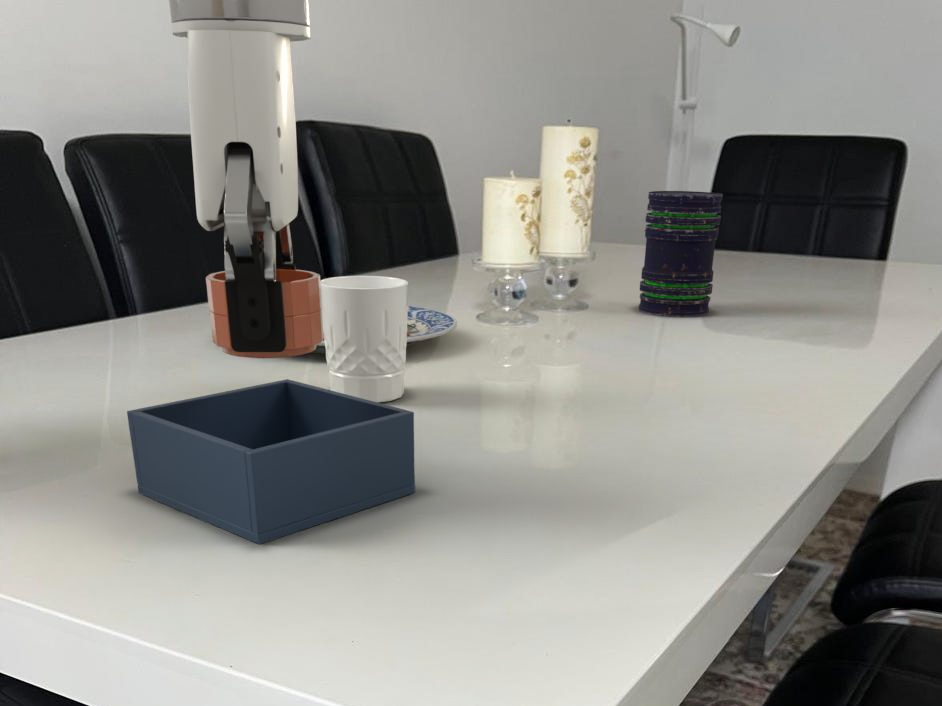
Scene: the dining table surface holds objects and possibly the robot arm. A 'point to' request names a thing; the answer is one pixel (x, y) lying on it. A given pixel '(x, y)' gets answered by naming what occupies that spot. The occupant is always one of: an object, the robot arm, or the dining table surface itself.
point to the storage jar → (679, 253)
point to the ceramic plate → (418, 326)
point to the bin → (273, 456)
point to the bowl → (298, 313)
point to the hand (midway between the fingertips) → (267, 336)
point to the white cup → (365, 335)
